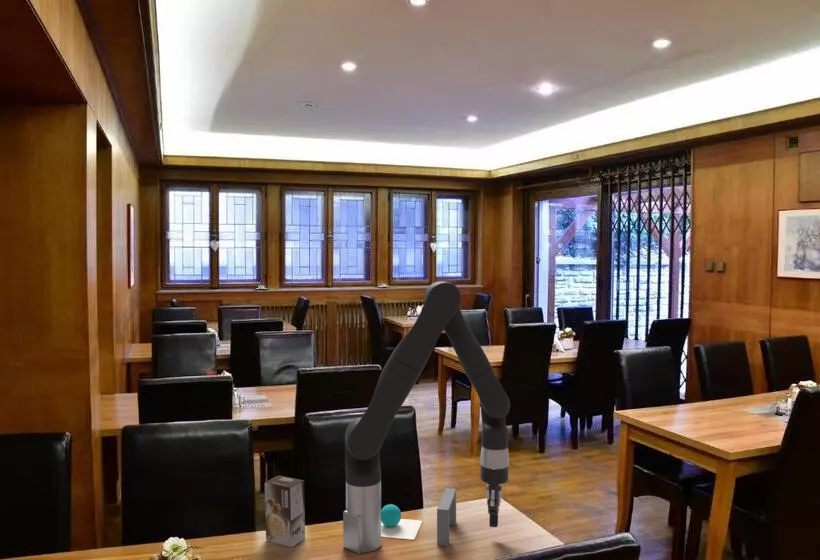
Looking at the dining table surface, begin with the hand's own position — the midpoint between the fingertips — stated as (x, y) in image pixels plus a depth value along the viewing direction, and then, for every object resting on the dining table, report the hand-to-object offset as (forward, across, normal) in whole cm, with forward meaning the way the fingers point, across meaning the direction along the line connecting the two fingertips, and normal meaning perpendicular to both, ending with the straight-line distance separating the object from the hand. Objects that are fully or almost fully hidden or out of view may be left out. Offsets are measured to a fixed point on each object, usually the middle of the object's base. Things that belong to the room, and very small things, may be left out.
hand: (493, 526), depth 168 cm
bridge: (+3, 0, -13) cm, 13 cm away
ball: (0, -1, -29) cm, 29 cm away
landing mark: (+4, 0, -27) cm, 27 cm away
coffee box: (+4, +13, -55) cm, 56 cm away
